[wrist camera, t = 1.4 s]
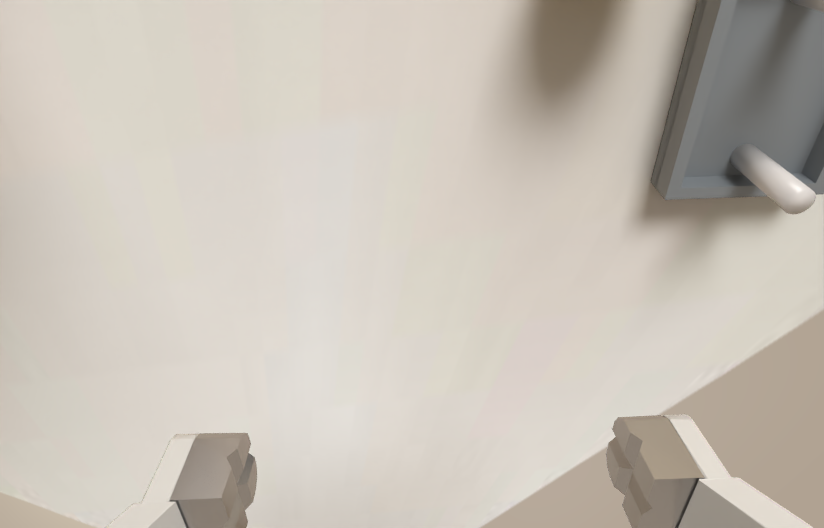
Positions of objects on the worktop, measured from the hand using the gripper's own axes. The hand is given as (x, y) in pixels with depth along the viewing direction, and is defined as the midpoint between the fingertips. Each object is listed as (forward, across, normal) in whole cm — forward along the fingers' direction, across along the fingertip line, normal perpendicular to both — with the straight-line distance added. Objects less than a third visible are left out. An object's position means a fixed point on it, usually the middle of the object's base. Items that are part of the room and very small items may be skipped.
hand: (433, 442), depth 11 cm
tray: (+24, -22, -3) cm, 32 cm away
